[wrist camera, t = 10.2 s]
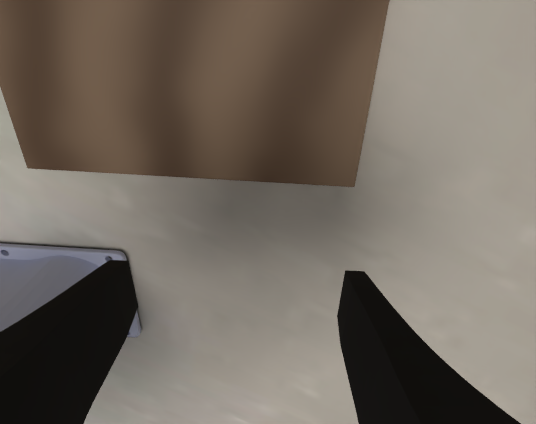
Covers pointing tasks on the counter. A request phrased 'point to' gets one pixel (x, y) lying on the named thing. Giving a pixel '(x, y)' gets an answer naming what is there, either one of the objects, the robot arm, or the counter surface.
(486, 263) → the counter surface
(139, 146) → the mounting plate
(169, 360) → the counter surface
